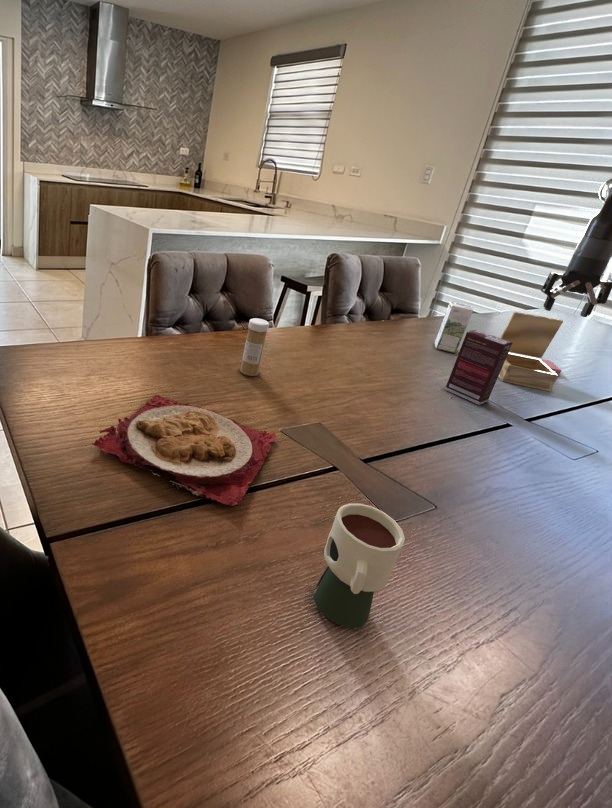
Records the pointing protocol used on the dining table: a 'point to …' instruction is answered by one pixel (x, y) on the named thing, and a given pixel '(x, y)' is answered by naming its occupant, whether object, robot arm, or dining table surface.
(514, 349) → the box lid
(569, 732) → the dining table surface
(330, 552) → the character mug
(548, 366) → the pink rectangular block
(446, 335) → the syrup box
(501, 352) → the supplement box
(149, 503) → the dining table surface
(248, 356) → the sprinkles bottle
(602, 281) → the robot arm
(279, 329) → the dining table surface
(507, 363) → the box
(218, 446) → the plate with food
